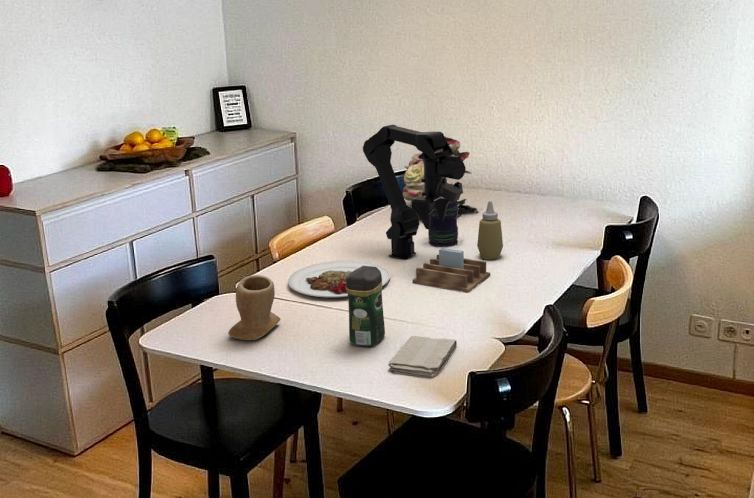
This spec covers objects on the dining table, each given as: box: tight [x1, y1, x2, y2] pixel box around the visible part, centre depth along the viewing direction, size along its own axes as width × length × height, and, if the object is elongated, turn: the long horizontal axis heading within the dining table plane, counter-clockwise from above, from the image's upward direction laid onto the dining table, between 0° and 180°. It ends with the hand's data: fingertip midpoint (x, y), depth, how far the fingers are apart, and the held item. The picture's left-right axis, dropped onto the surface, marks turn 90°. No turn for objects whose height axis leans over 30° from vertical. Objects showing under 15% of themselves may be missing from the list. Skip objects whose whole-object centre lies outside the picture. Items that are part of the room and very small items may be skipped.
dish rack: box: [411, 254, 491, 293], centre depth 246 cm, size 18×15×4 cm
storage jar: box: [427, 200, 459, 248], centre depth 278 cm, size 10×10×15 cm
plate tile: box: [438, 247, 465, 269], centre depth 245 cm, size 7×2×8 cm, turn 59°
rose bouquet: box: [402, 135, 479, 222], centre depth 308 cm, size 26×29×30 cm
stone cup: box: [227, 274, 281, 341], centre depth 215 cm, size 15×12×15 cm
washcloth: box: [388, 335, 458, 378], centre depth 197 cm, size 12×18×3 cm, turn 160°
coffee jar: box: [346, 266, 386, 348], centre depth 206 cm, size 10×8×19 cm
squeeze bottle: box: [476, 200, 504, 260], centre depth 262 cm, size 8×8×18 cm
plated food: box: [287, 260, 391, 298], centre depth 248 cm, size 30×30×3 cm
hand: (434, 225), depth 255 cm, fingers open, 9 cm apart
